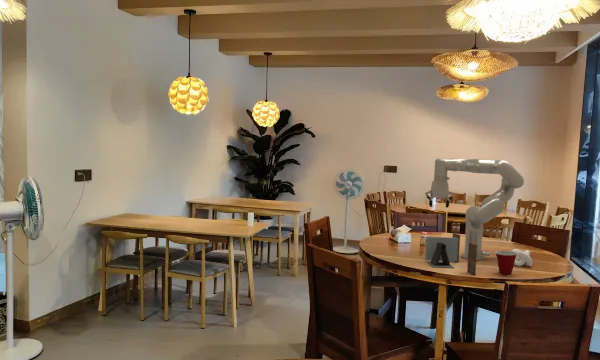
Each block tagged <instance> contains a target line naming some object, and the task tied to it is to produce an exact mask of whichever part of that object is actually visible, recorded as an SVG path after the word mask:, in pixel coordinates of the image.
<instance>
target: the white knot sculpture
mask: <svg viewBox="0 0 600 360" xmlns="http://www.w3.org/2000/svg"><path fill="white" fill-rule="evenodd" d="M511 251H514V252H517V255H516V259H515V262H514V266H515V265H516V266H515V267H522V266H523V265H524V266H526V267H528V266H530V267H531V266H533V259H532V258H531V256H530V255H531V252H530V250H529V249H526V250H524V251H523V250H520V249H518V248H513V249H512V250H511Z"/></svg>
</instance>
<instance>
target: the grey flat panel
mask: <svg viewBox="0 0 600 360" xmlns="http://www.w3.org/2000/svg"><path fill="white" fill-rule="evenodd" d="M438 242H439V243H440V242H441V243H443V244H445V245H446V252H447V256H448V259H449V262H454V261H457V253H458V238H452V237H450V236H449V237H448V236H426V238H425V256H424V260H425V261H431V260H432V257H433V255H434V252H435V250H436V247H437V245H436V244H437V243H438ZM439 262H442V257H441V256H440V260H439Z"/></svg>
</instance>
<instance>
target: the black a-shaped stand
mask: <svg viewBox="0 0 600 360" xmlns="http://www.w3.org/2000/svg"><path fill="white" fill-rule="evenodd" d="M436 245H437V247H436V250H435V252H434V255H433V257H432V260H430V261H429V262H430V263H432V264H433V265H435V266H442V265H443V266H450V265H451V263H450V261H449V259H448V256H447V252H446V245H445V244H443V243H441V242H440V243H439V242H438V243H437V244H436ZM440 256H441V257H442V261H439V260H440Z"/></svg>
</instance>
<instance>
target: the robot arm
mask: <svg viewBox="0 0 600 360" xmlns="http://www.w3.org/2000/svg"><path fill="white" fill-rule="evenodd" d="M448 171H449V172H464V173H465V172H467V173H472V174H486V175H487V174H489V175H490V174H491V175H492V174H493V175H500V176H501V177H502V178H501V183H500V184H501V186H499V187H500V188H499V189H498V190H495V192H493V193H492V194H490V195H489V196H487V197H486V198H484V199H483V200H482V202H481V206H478V205H477V206H476V205H471V206H470V207H468V208H467V209H466V211H465V235H464V236H465V239H464V253H462V254H461V257H462V258H463V259H466V260H468V250H469V242H473V243H475V244H477V258H476V261H480V260H484V259H485V258H484V256H487V257H488V256H490V252H486V251H483V250H482V245H483V232H484V231H483V228H484V226H483V224H486V223H488V222H490V221H491V220H493V219H494V218H496V217H497V216H499V215H500V214H501V213H502V212H504V210H505V204H506V203H508V201H510V200H511V199H512V198H513V196H514V194H515V189H520V188H522V187H523V186H524V183H525V178H524V176H522V175H521V174H520V172H519V171H517V170H516V168H514V166H513V165H512V164H510V163H509V162H508V161H507V160H503V159H485V158H484V159H483V158H482V159H481V158H479V159H478V158H469V159H467V158H466V159H461V158H449V159H448V158H447V159H446V158H436V159H435V160H434V171H433V172H434V173H433V174H434V176H433V180H432V182H431V187H430V190H428V191H427V192H425V194H424V195H425V196H426V199H428V206H429V208H433V199H434V198H440V199H446V200H445V208H448V209H449V207H450V201H451V200H452V199H453V198H454V196H455V193H453V192H452V191H449V190H450V189H449V188H450V187H449V182H448V180H450V177H448ZM429 194H430V195H429ZM449 195H450V196H449Z"/></svg>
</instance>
